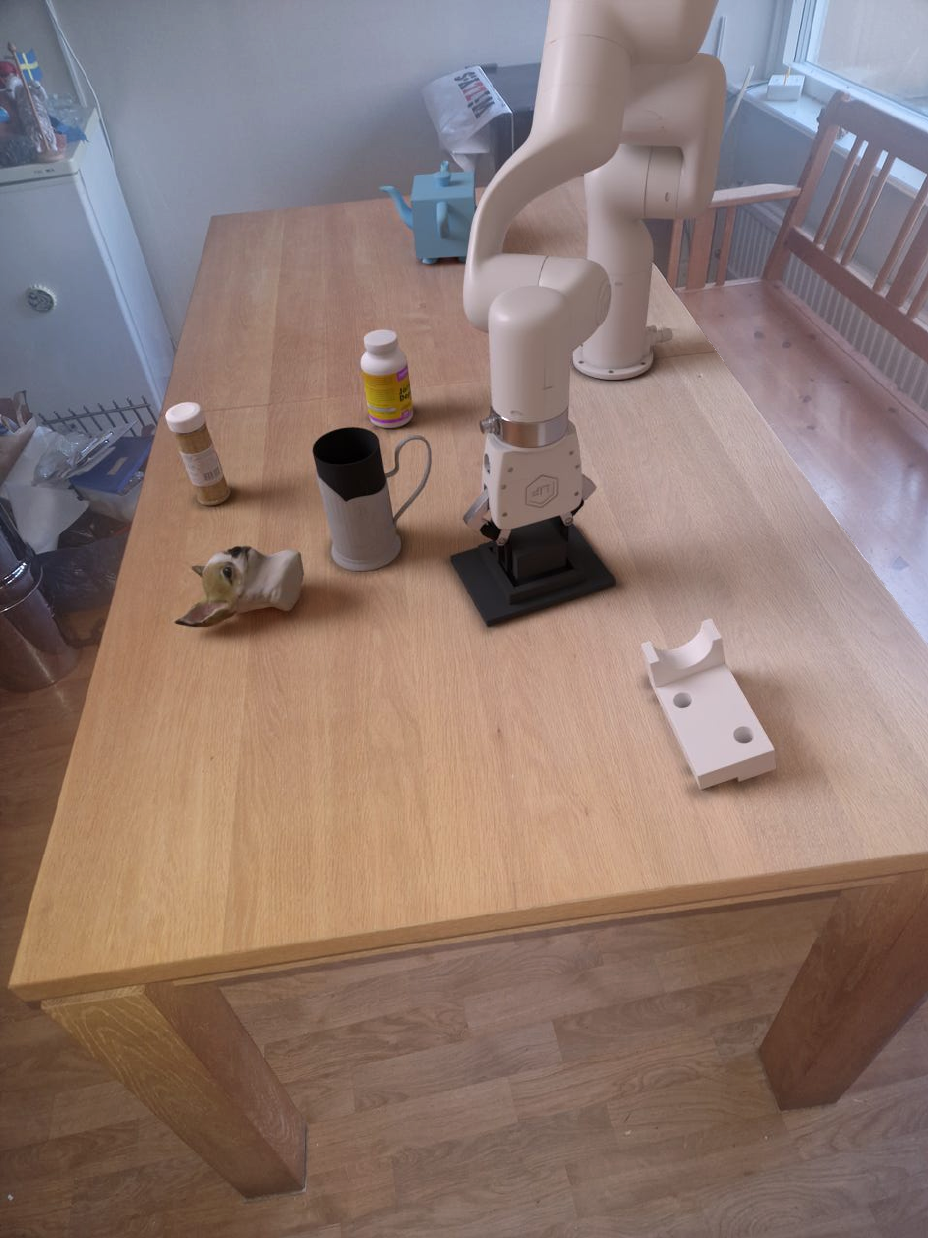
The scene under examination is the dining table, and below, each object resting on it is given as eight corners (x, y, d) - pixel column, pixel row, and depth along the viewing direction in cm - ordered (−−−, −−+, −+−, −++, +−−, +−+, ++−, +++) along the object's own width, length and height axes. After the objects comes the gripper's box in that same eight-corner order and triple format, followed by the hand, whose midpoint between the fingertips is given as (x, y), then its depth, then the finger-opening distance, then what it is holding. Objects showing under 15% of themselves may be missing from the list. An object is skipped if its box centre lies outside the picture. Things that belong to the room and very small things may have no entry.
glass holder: (322, 537, 101) (297, 436, 91) (426, 505, 105) (414, 403, 94) (343, 579, 96) (319, 477, 85) (452, 544, 99) (442, 440, 88)
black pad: (543, 534, 95) (543, 511, 93) (565, 565, 91) (566, 542, 89) (497, 548, 94) (496, 525, 91) (517, 580, 90) (516, 557, 87)
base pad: (569, 525, 100) (570, 509, 98) (615, 585, 92) (617, 569, 90) (450, 561, 97) (448, 545, 95) (487, 627, 89) (486, 611, 87)
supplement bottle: (407, 431, 117) (396, 349, 108) (364, 428, 118) (350, 347, 109) (418, 406, 122) (409, 326, 112) (376, 404, 123) (364, 324, 114)
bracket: (651, 688, 83) (640, 644, 77) (717, 664, 82) (710, 618, 76) (701, 794, 74) (692, 753, 68) (776, 769, 73) (772, 725, 67)
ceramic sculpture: (289, 574, 84) (152, 589, 85) (311, 630, 90) (182, 644, 91) (301, 511, 91) (174, 526, 92) (320, 567, 97) (201, 581, 98)
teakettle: (446, 279, 153) (440, 197, 142) (383, 255, 163) (373, 176, 152) (514, 247, 161) (512, 167, 151) (449, 226, 171) (444, 150, 161)
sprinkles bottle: (226, 483, 111) (196, 396, 101) (234, 500, 108) (205, 413, 98) (194, 493, 110) (161, 407, 100) (201, 511, 107) (168, 424, 97)
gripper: (462, 460, 75) (473, 597, 88) (626, 416, 79) (613, 553, 92) (436, 421, 80) (449, 556, 93) (591, 381, 84) (583, 516, 97)
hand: (530, 553), depth 92 cm, fingers closed on black pad, 6 cm apart
